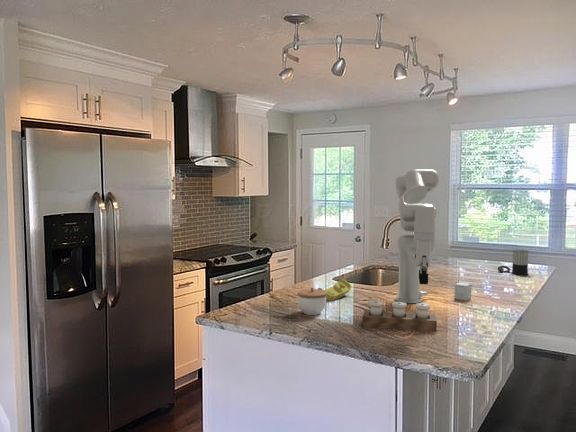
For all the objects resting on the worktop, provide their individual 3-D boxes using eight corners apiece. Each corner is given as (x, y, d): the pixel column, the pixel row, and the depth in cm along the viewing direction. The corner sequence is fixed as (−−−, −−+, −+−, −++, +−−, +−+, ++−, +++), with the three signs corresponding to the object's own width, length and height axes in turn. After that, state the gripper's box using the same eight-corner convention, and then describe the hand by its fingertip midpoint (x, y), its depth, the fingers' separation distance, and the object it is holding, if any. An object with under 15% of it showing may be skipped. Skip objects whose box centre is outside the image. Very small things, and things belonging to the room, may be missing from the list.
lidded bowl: (317, 318, 202) (318, 292, 202) (292, 314, 209) (292, 288, 208) (331, 311, 213) (331, 286, 212) (306, 307, 220) (306, 283, 219)
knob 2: (401, 314, 196) (401, 301, 196) (409, 317, 191) (409, 304, 190) (389, 315, 194) (389, 302, 194) (396, 319, 189) (397, 305, 188)
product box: (453, 298, 236) (454, 283, 236) (459, 296, 241) (459, 282, 240) (466, 300, 232) (466, 285, 232) (471, 298, 237) (471, 283, 236)
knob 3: (424, 315, 194) (424, 302, 194) (433, 319, 189) (433, 305, 188) (412, 316, 192) (412, 303, 192) (420, 320, 187) (421, 306, 186)
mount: (362, 326, 191) (362, 316, 191) (364, 319, 201) (364, 309, 200) (436, 331, 184) (436, 321, 184) (434, 324, 194) (435, 314, 194)
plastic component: (332, 297, 230) (317, 285, 235) (327, 309, 233) (312, 297, 238) (355, 287, 245) (340, 276, 250) (350, 299, 248) (335, 288, 253)
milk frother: (530, 275, 296) (531, 251, 295) (504, 275, 296) (505, 251, 295) (520, 271, 310) (520, 248, 309) (495, 271, 310) (495, 248, 309)
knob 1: (378, 312, 198) (378, 299, 198) (385, 316, 193) (385, 302, 192) (366, 314, 196) (366, 300, 196) (373, 317, 191) (373, 304, 190)
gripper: (413, 234, 197) (413, 277, 199) (414, 239, 181) (413, 286, 182) (432, 234, 196) (432, 278, 197) (435, 239, 179) (434, 287, 180)
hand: (423, 281), depth 189 cm, fingers open, 7 cm apart
